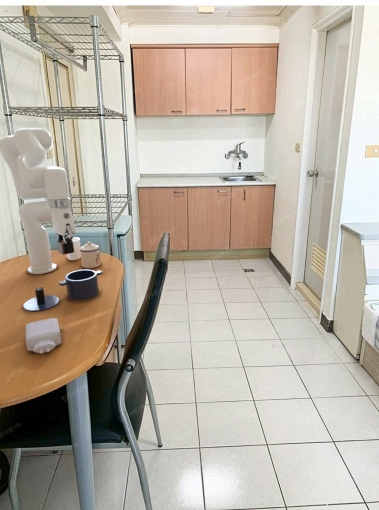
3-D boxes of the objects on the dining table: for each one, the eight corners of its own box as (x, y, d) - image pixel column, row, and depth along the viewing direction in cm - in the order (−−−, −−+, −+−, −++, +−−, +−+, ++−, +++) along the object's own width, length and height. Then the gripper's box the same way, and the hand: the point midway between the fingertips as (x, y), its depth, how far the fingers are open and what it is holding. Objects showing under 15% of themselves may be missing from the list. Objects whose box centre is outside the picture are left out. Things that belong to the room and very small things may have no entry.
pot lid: (19, 305, 127) (15, 288, 125) (51, 295, 135) (49, 279, 133) (30, 316, 119) (27, 299, 117) (64, 305, 127) (62, 288, 124)
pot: (56, 297, 133) (53, 276, 130) (96, 284, 144) (94, 265, 141) (69, 307, 125) (66, 285, 122) (110, 293, 136) (108, 273, 133)
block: (58, 252, 130) (56, 241, 129) (69, 249, 133) (68, 238, 131) (63, 254, 127) (61, 243, 125) (74, 252, 130) (72, 240, 128)
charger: (28, 364, 94) (27, 337, 107) (63, 355, 97) (59, 330, 110) (25, 349, 92) (25, 323, 105) (61, 341, 96) (57, 317, 108)
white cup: (73, 261, 172) (70, 242, 168) (62, 259, 176) (60, 240, 172) (85, 257, 178) (83, 238, 175) (75, 254, 182) (72, 236, 179)
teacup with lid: (100, 267, 163) (98, 244, 159) (80, 269, 161) (77, 245, 157) (102, 259, 174) (99, 237, 170) (83, 261, 172) (80, 238, 169)
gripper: (79, 204, 120) (85, 254, 126) (60, 199, 132) (66, 245, 138) (58, 207, 116) (65, 259, 121) (40, 202, 128) (48, 249, 133)
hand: (66, 251), depth 130 cm, fingers closed on block, 4 cm apart
